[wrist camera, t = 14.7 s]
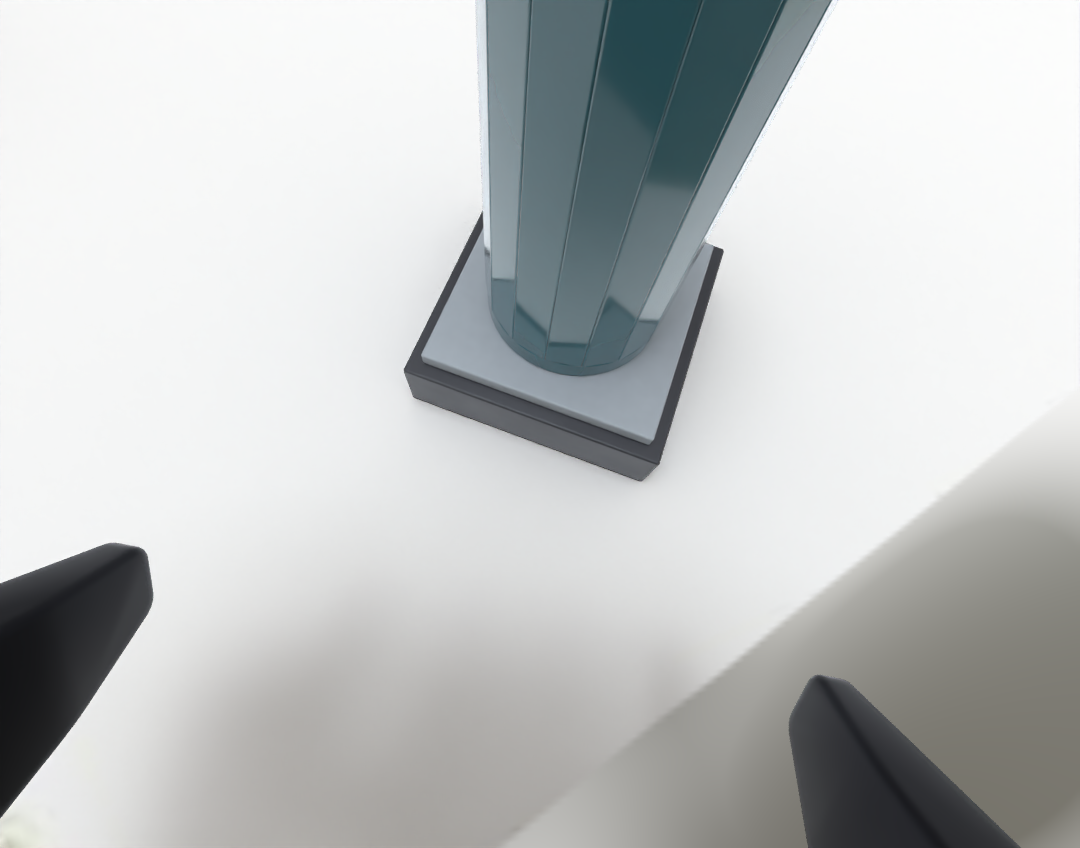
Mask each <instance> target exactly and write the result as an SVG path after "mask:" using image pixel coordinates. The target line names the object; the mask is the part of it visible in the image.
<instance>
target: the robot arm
mask: <svg viewBox="0 0 1080 848" xmlns="http://www.w3.org/2000/svg"><path fill="white" fill-rule="evenodd" d="M152 602H153V588H152V581H151V575H150V568H149V561H148V556H147V554H146V552H145V551H144V550H143V549H141V548H140V547H135V546H130V545H125V544H119V543H108V544H104V545H102V546H99V547H96V548H94V549H91V550H88V551H86V552H83V553H80V554H78V555H75V556H72V557H70V558H67V559H64V560H62V561H59V562H56V563H54V564H51V565H48V566H46V567H43V568H40V569H38V570H35V571H32V572H30V573H27V574H24V575H22V576H19V577H16V578H14V579H11V580H8V581H6V582H3V583H0V818H1V817H2V816H3V814H4V813H5V812H6V811H7V809H8V808H9V807H10V806H11V804H12V803H13V802H14V801H15V799H16V798H17V797H18V795H19V794H20V793H21V792H22V790H23V789H24V788H25V787H26V785H27V784H28V783H29V782H30V780H31V779H32V778H33V777H34V775H35V774H36V773H37V772H38V770H39V769H40V768H41V766H42V765H43V764H44V763H45V761H46V760H47V759H48V758H49V756H50V755H51V754H52V753H53V751H54V750H55V749H56V748H57V746H58V745H59V744H60V742H61V741H62V740H63V739H64V737H65V736H66V735H67V733H68V732H69V731H70V729H71V728H72V727H73V725H74V724H75V723H76V721H77V720H78V718H79V717H80V716H81V714H82V713H83V711H84V710H85V708H86V707H87V706H88V704H89V703H90V701H91V700H92V698H93V697H94V695H95V693H96V692H97V690H98V689H99V687H100V686H101V684H102V683H103V681H104V680H105V678H106V677H107V675H108V674H109V672H110V671H111V669H112V668H113V666H114V665H115V663H116V661H117V660H118V658H119V657H120V655H121V654H122V652H123V651H124V649H125V648H126V646H127V645H128V643H129V642H130V640H131V639H132V637H133V636H134V634H135V633H136V631H137V629H138V628H139V626H140V625H141V623H142V622H143V620H144V619H145V617H146V616H147V614H148V612H149V610H150V608H151V605H152ZM789 736H790V742H791V748H792V754H793V760H794V766H795V772H796V778H797V784H798V789H799V796H800V802H801V808H802V814H803V820H804V826H805V831H806V838H807V843H808V848H1021V847H1020V846H1019V845H1017V843H1015V842H1014V841H1013V840H1012V839H1011V838H1010V837H1009V836H1008V835H1007V834H1006V833H1005V832H1004V831H1003V830H1002V829H1001V828H1000V827H999V826H998V825H997V824H996V823H995V822H994V821H993V820H992V819H991V818H990V817H989V816H987V815H986V814H985V813H984V812H983V811H982V810H981V809H980V808H979V807H978V806H977V805H976V804H975V803H974V802H973V801H972V800H971V799H970V798H969V797H968V796H967V795H966V794H964V792H963V791H962V790H960V789H959V788H958V787H957V786H956V785H955V784H954V783H953V782H952V781H951V780H950V779H949V778H948V777H947V776H946V775H945V774H944V773H943V772H942V771H941V770H940V769H939V768H938V767H937V766H936V765H935V764H934V763H932V762H931V761H930V760H929V759H928V758H927V757H926V756H925V755H924V754H923V753H922V752H921V751H920V750H919V749H918V748H917V747H916V746H915V745H914V744H913V743H912V742H911V741H910V740H909V739H908V738H907V737H906V736H904V735H903V734H902V733H901V732H900V731H899V730H898V729H897V728H896V727H895V726H894V725H893V724H892V723H891V722H890V721H889V720H888V719H887V718H886V717H885V716H884V715H882V713H880V711H878V710H877V709H876V708H875V707H874V706H873V705H872V704H871V703H870V702H869V701H868V700H867V699H866V698H865V697H864V696H863V695H862V694H861V693H860V692H859V691H857V689H856V688H854V686H852V685H851V684H850V683H849V682H847V681H846V680H843V679H839V678H834V677H829V676H823V675H815V676H813V677H812V678H810V680H809V681H808V683H807V685H806V686H805V688H804V690H803V692H802V694H801V696H800V698H799V700H798V701H797V703H796V705H795V707H794V709H793V711H792V713H791V716H790V720H789Z"/></svg>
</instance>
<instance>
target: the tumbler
mask: <svg viewBox="0 0 1080 848" xmlns="http://www.w3.org/2000/svg"><path fill="white" fill-rule="evenodd" d="M838 1H839V0H475V2H476V30H477V58H478V86H479V114H480V142H481V170H482V198H483V226H484V254H485V281H486V286H487V298H488V306H489V311H490V314H491V318H492V320H493V323H494V325H495V327H496V329H497V331H498V332H499V334H500V335H501V337H502V338H503V340H504V341H505V342H506V343H507V344H508V346H509V347H510V348H511V349H512V350H514V351H515V352H516V353H517V354H518V355H519V356H521V357H522V358H524V359H525V360H526V361H528V362H530V363H532V364H534V365H535V366H537V367H540V368H542V369H545V370H547V371H550V372H554V373H558V374H563V375H570V376H588V375H597V374H601V373H605V372H609V371H611V370H614V369H617V368H619V367H621V366H623V365H625V364H626V363H628V362H630V361H631V360H632V359H634V358H635V357H636V356H637V355H639V354H640V353H641V352H642V351H643V350H644V349H645V347H646V346H647V345H648V343H649V342H650V341H651V339H652V337H653V335H654V334H655V332H656V330H657V328H658V327H659V325H660V324H661V322H662V321H663V319H664V318H665V316H666V314H667V312H668V310H669V309H670V307H671V305H672V303H673V301H674V299H675V298H676V296H677V294H678V292H679V290H680V288H681V287H682V285H683V283H684V281H685V279H686V278H687V276H688V274H689V272H690V270H691V268H692V267H693V265H694V263H695V261H696V259H697V258H698V256H699V254H700V252H701V250H702V248H703V247H704V245H705V243H706V241H707V239H708V237H709V236H710V234H711V232H712V230H713V228H714V227H715V225H716V223H717V221H718V219H719V217H720V216H721V214H722V212H723V210H724V208H725V207H726V205H727V203H728V201H729V199H730V197H731V196H732V194H733V192H734V190H735V188H736V186H737V185H738V183H739V181H740V179H741V177H742V176H743V174H744V172H745V170H746V168H747V166H748V165H749V163H750V161H751V159H752V157H753V155H754V154H755V152H756V150H757V148H758V146H759V145H760V143H761V141H762V139H763V137H764V135H765V134H766V132H767V130H768V128H769V126H770V125H771V123H772V121H773V119H774V117H775V115H776V114H777V112H778V110H779V108H780V106H781V104H782V103H783V101H784V99H785V97H786V95H787V94H788V92H789V90H790V88H791V86H792V84H793V83H794V81H795V79H796V77H797V75H798V74H799V72H800V70H801V68H802V66H803V64H804V63H805V61H806V59H807V57H808V55H809V53H810V52H811V50H812V48H813V46H814V44H815V43H816V41H817V39H818V37H819V35H820V33H821V32H822V30H823V28H824V26H825V24H826V22H827V21H828V19H829V17H830V15H831V13H832V12H833V10H834V8H835V6H836V4H837V2H838Z"/></svg>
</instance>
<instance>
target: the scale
mask: <svg viewBox="0 0 1080 848" xmlns="http://www.w3.org/2000/svg"><path fill="white" fill-rule="evenodd" d="M723 252H724V251H723V249H720V248H718V247H715V246H713V245H710V244H708V243H705V245H704V247H703V248H702V250H701V252H700V254H699V256H698V258H697V259H696V261H695V263H694V265H693V267H692V268H691V270H690V272H689V274H688V276H687V278H686V279H685V281H684V283H683V285H682V287H681V288H680V290H679V292H678V294H677V296H676V298H675V299H674V301H673V303H672V305H671V307H670V309H669V310H668V312H667V314H666V316H665V318H664V319H663V321H662V322H661V324H660V325H659V327H658V328H657V330H656V332H655V334H654V335H653V337H652V339H651V341H650V342H649V343H648V345H647V346H646V347H645V349H644V350H643V351H642V352H641V353H640V354H639V355H637V356H636V357H635V358H634V359H632V360H631V361H630V362H628V363H626V364H625V365H623V366H621V367H619V368H617V369H614V370H611V371H609V372H605V373H601V374H597V375H588V376H570V375H563V374H558V373H554V372H550V371H547V370H545V369H542V368H540V367H537V366H535V365H534V364H532V363H530V362H528V361H526V360H525V359H524V358H522V357H521V356H519V355H518V354H517V353H516V352H515V351H514V350H512V349H511V348H510V347H509V346H508V344H507V343H506V342H505V341H504V340H503V338H502V337H501V335H500V334H499V332H498V331H497V329H496V327H495V325H494V323H493V320H492V318H491V314H490V311H489V306H488V298H487V286H486V281H485V254H484V226H483V211H482V213H481V215H480V217H479V219H478V221H477V223H476V225H475V227H474V229H473V231H472V233H471V235H470V237H469V239H468V241H467V243H466V245H465V247H464V249H463V251H462V253H461V255H460V257H459V259H458V261H457V263H456V265H455V268H454V270H453V272H452V274H451V276H450V278H449V280H448V282H447V284H446V286H445V288H444V290H443V292H442V294H441V296H440V298H439V300H438V302H437V304H436V306H435V308H434V310H433V312H432V314H431V316H430V318H429V320H428V322H427V324H426V326H425V328H424V330H423V332H422V334H421V336H420V338H419V340H418V342H417V344H416V346H415V348H414V350H413V352H412V354H411V356H410V358H409V360H408V362H407V364H406V366H405V368H404V373H405V376H406V378H407V381H408V384H409V386H410V389H411V392H412V394H413V397H415V398H417V399H420V400H423V401H426V402H428V403H431V404H434V405H436V406H439V407H442V408H444V409H447V410H450V411H452V412H455V413H458V414H461V415H463V416H466V417H469V418H471V419H474V420H477V421H479V422H482V423H485V424H488V425H490V426H493V427H496V428H498V429H501V430H504V431H506V432H509V433H512V434H515V435H517V436H520V437H523V438H525V439H528V440H531V441H533V442H536V443H539V444H541V445H544V446H547V447H550V448H552V449H555V450H558V451H560V452H563V453H566V454H568V455H571V456H574V457H577V458H579V459H582V460H585V461H587V462H590V463H593V464H595V465H598V466H601V467H603V468H606V469H609V470H612V471H614V472H617V473H620V474H622V475H625V476H628V477H630V478H633V479H636V480H639V481H642V480H643V479H645V478H646V477H647V476H648V475H649V474H650V473H651V472H652V471H653V470H654V469H655V468H656V467H657V466H658V465H659V464H660V460H661V457H662V454H663V450H664V447H665V444H666V440H667V437H668V434H669V431H670V427H671V424H672V421H673V417H674V414H675V411H676V407H677V404H678V401H679V398H680V394H681V391H682V388H683V384H684V381H685V378H686V374H687V371H688V368H689V365H690V361H691V358H692V355H693V351H694V348H695V345H696V341H697V338H698V335H699V332H700V328H701V325H702V322H703V318H704V315H705V312H706V308H707V305H708V302H709V298H710V295H711V292H712V289H713V285H714V282H715V279H716V275H717V272H718V269H719V265H720V262H721V259H722V256H723Z"/></svg>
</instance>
